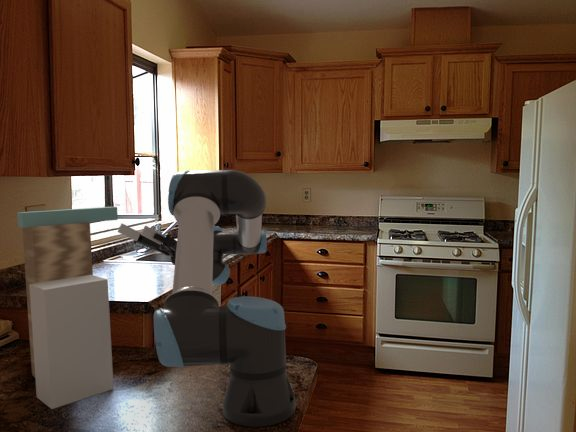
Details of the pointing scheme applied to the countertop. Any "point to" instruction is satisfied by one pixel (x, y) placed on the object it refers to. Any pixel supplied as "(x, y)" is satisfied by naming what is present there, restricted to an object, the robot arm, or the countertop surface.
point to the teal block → (66, 216)
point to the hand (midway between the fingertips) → (131, 228)
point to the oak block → (55, 258)
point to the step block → (71, 339)
